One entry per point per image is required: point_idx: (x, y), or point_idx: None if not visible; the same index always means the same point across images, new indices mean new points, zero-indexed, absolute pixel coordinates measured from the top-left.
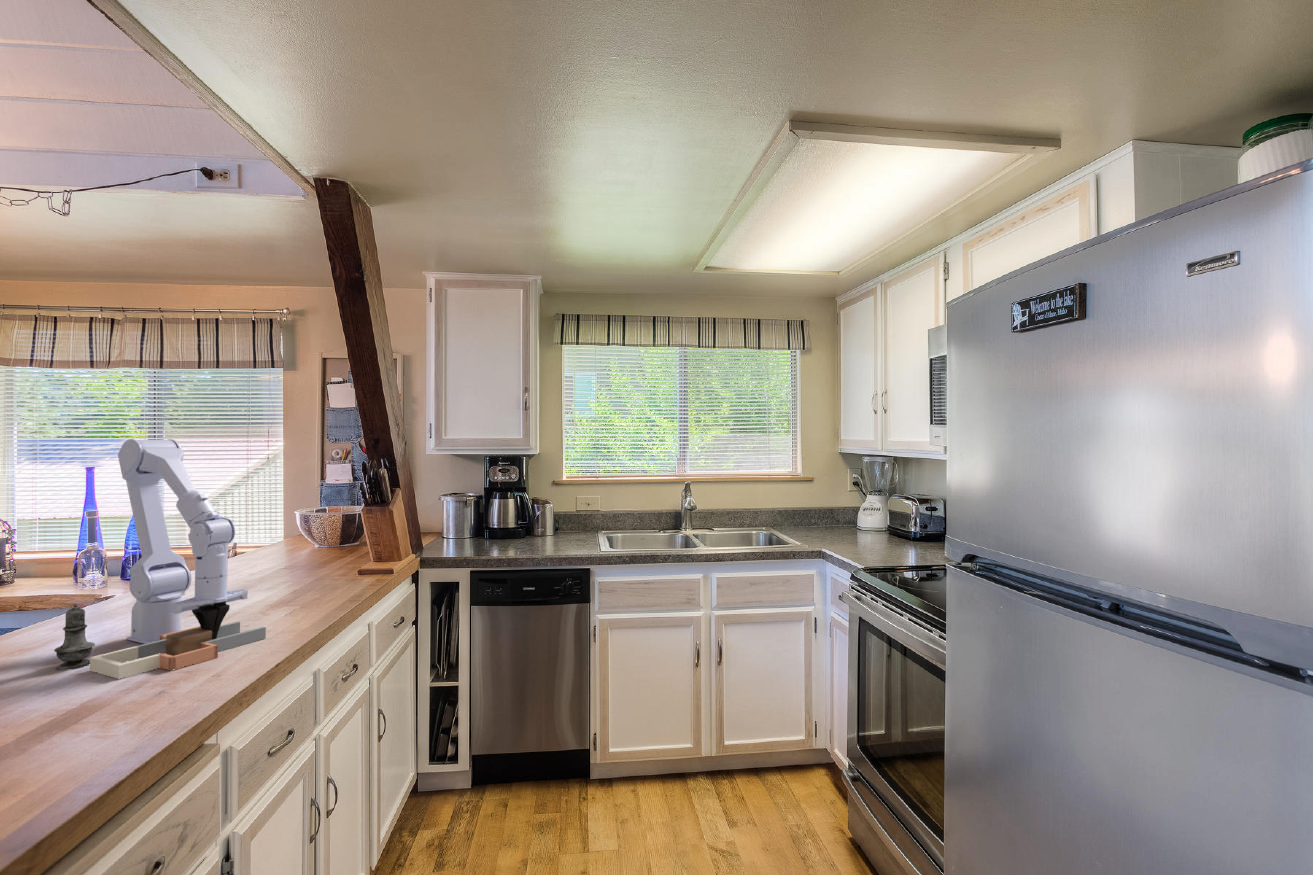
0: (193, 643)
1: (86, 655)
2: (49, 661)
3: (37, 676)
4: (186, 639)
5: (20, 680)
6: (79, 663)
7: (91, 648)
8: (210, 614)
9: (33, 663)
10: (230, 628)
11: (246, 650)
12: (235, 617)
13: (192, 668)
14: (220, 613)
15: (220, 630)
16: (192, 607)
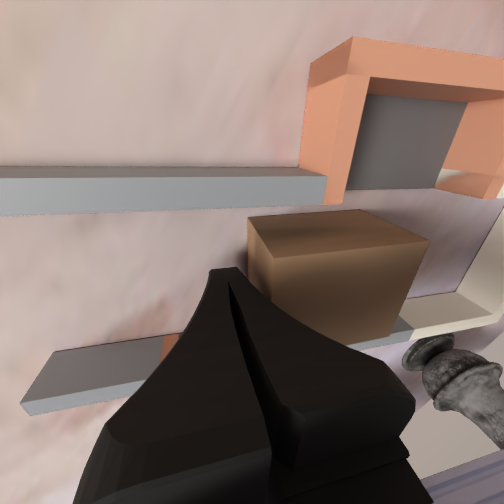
0: (346, 230)
1: (450, 355)
2: (409, 391)
3: (482, 331)
4: (399, 237)
5: (499, 328)
6: (435, 346)
7: (452, 372)
8: (341, 361)
9: (419, 394)
10: (86, 372)
11: (149, 19)
12: (7, 495)
13: (459, 10)
14: (223, 373)
15: (136, 366)
16: (483, 498)
